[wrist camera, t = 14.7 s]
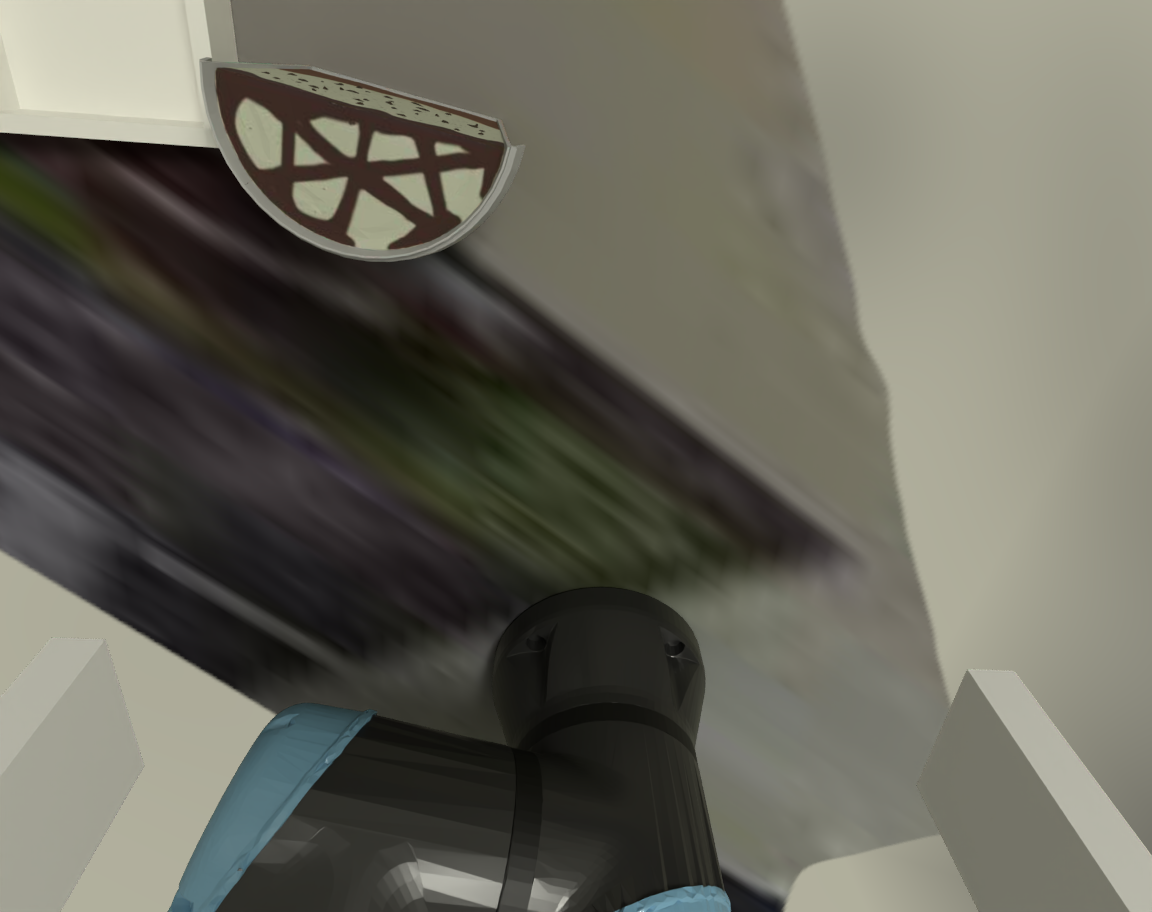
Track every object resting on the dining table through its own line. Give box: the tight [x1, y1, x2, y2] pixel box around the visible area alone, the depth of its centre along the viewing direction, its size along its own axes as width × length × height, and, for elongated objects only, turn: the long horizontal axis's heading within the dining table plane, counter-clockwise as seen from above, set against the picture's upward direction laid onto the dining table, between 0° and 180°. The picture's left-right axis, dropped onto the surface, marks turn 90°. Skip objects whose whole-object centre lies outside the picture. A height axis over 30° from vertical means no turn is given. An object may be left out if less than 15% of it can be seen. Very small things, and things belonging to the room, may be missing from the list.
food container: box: [199, 57, 525, 262], centre depth 33 cm, size 12×6×10 cm, turn 75°
